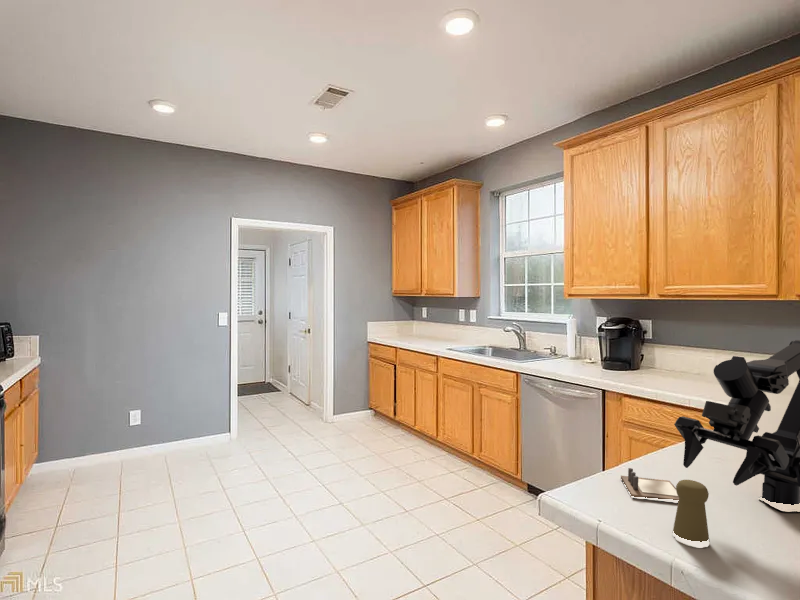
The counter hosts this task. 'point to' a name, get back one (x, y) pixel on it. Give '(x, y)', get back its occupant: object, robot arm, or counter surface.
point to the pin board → (649, 487)
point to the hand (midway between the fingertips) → (708, 474)
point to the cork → (691, 511)
